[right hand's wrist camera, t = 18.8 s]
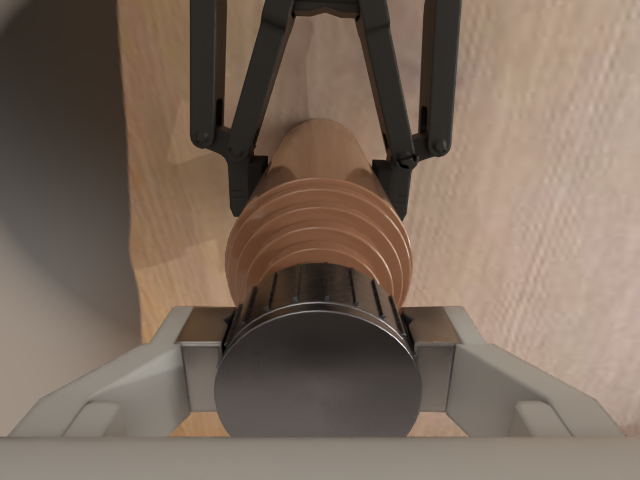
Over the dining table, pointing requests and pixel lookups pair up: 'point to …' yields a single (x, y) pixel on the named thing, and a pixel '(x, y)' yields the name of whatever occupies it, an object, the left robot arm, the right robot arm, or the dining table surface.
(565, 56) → the dining table surface
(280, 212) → the bottle
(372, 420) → the cap
